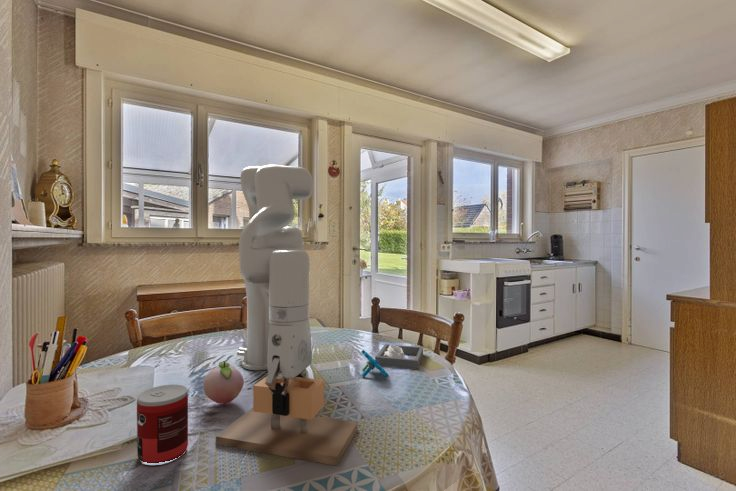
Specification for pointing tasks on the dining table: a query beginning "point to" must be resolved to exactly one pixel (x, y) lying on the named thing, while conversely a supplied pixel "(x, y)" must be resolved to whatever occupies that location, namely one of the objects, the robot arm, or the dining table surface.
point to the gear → (372, 365)
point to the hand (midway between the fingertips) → (289, 405)
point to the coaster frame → (401, 361)
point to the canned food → (162, 423)
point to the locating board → (290, 436)
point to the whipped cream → (394, 352)
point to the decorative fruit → (223, 383)
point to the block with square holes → (292, 397)
